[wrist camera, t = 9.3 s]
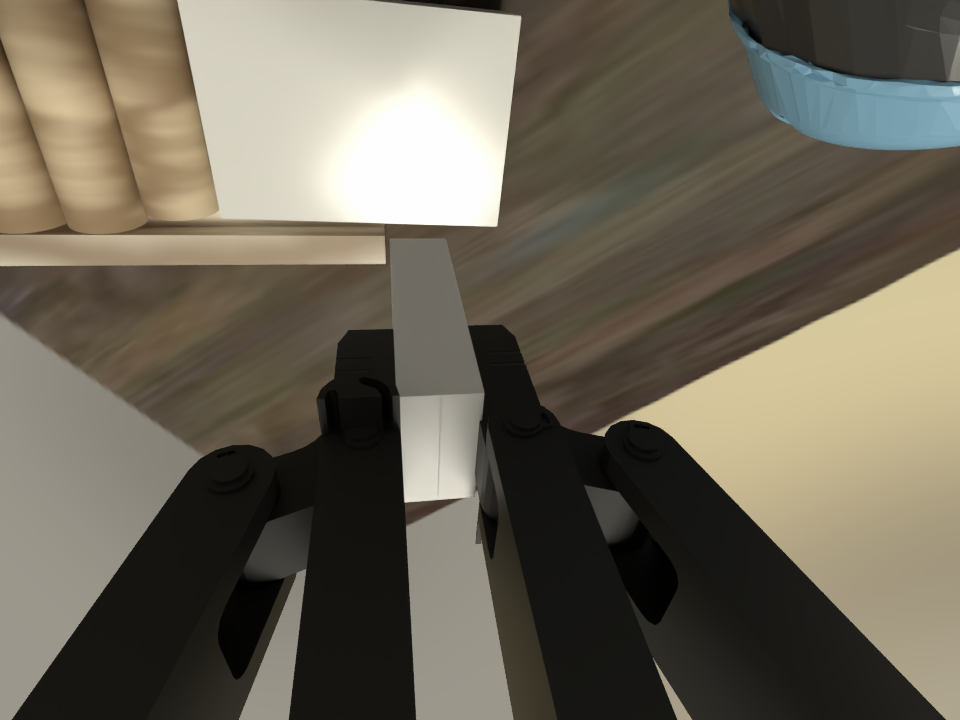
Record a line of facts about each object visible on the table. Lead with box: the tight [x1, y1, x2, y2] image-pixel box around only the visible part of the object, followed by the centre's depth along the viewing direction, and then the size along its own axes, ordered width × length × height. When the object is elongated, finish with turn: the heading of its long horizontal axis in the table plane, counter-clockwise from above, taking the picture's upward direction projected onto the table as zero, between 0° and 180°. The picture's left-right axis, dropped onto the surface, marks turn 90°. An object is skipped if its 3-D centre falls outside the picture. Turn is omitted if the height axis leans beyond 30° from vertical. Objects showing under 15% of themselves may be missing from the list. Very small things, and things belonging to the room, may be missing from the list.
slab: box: [177, 0, 521, 227], centre depth 30 cm, size 11×16×4 cm
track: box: [0, 210, 386, 266], centre depth 26 cm, size 18×26×10 cm
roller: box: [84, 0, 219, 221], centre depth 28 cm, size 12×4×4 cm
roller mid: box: [0, 0, 148, 234], centre depth 27 cm, size 12×4×4 cm, turn 174°
